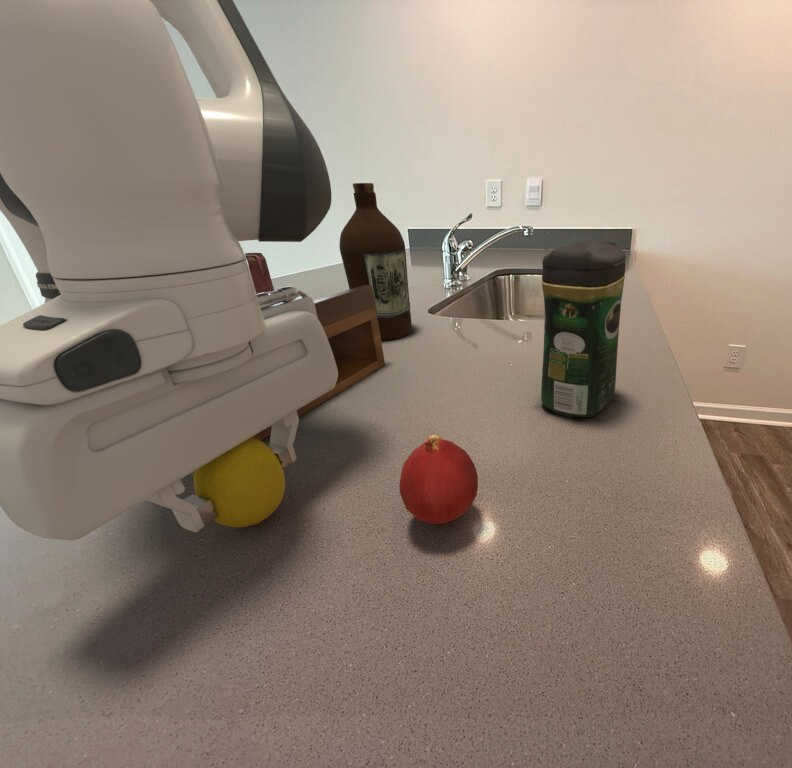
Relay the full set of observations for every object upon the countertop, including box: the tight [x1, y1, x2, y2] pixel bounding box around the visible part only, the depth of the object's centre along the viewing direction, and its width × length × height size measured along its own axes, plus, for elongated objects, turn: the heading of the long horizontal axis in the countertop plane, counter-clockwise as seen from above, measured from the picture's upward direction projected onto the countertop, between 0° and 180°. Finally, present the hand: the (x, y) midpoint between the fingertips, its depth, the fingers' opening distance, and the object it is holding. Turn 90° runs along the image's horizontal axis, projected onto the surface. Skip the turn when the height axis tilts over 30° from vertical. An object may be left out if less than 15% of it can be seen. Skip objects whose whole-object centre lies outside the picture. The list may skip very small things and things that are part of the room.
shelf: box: [251, 285, 386, 442], centre depth 52 cm, size 14×22×12 cm, turn 160°
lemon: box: [193, 438, 286, 528], centre depth 31 cm, size 6×6×8 cm
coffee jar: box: [540, 239, 627, 418], centre depth 46 cm, size 10×8×19 cm
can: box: [244, 252, 275, 294], centre depth 77 cm, size 6×6×14 cm
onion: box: [398, 434, 479, 525], centre depth 30 cm, size 6×6×8 cm
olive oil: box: [338, 182, 413, 342], centre depth 70 cm, size 11×11×25 cm
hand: (245, 491), depth 31 cm, fingers closed on lemon, 6 cm apart
